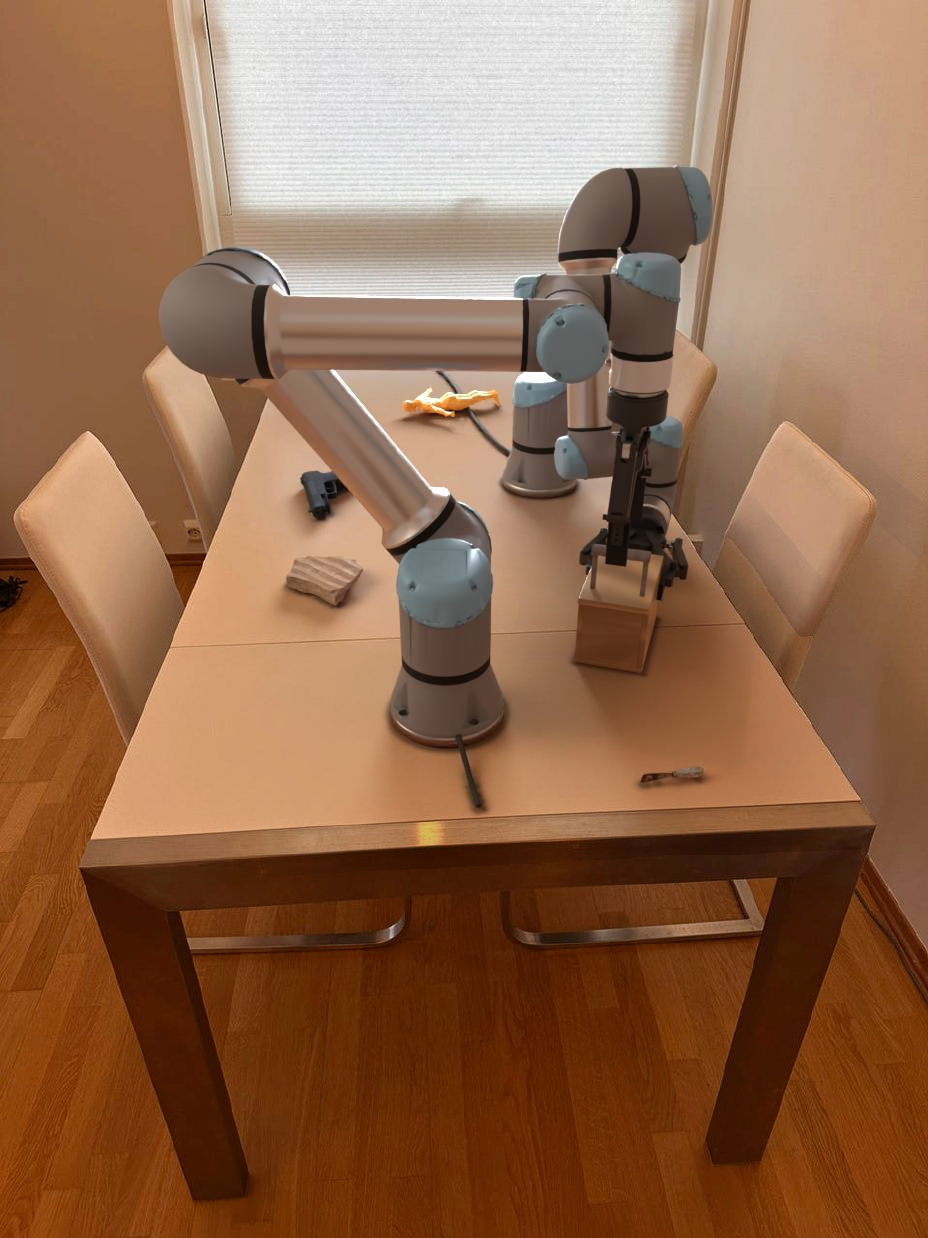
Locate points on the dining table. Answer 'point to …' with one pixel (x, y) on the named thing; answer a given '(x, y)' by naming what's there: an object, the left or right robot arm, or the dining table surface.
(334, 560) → the stone
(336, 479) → the handgun
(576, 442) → the right robot arm
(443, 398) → the human figure
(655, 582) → the lid
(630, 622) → the chest
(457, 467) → the dining table surface
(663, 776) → the putty knife
